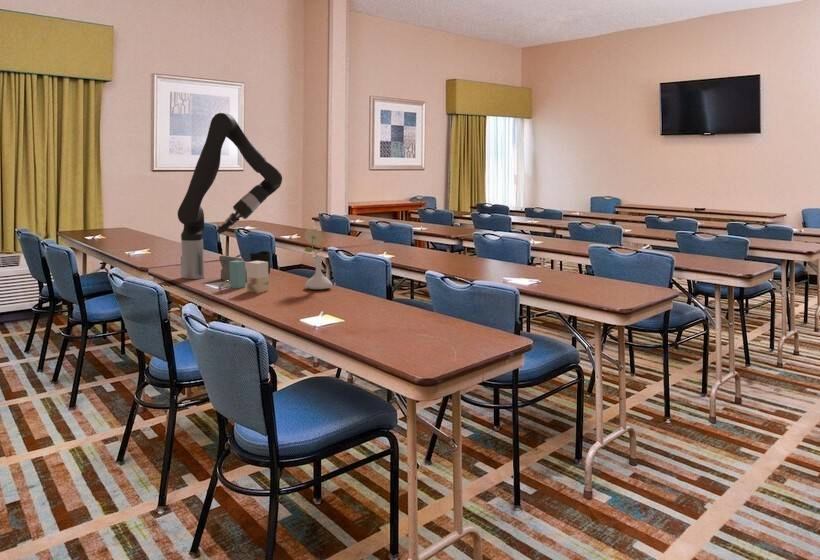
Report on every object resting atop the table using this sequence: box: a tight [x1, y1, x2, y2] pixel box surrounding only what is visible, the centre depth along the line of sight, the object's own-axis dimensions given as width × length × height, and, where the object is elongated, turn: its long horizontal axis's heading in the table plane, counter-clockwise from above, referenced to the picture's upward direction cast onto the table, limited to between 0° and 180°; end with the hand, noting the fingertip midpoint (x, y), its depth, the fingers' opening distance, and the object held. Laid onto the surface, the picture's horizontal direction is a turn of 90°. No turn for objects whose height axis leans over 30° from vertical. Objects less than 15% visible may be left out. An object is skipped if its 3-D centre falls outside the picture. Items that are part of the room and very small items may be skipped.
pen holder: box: [249, 250, 271, 275], centre depth 309 cm, size 9×9×10 cm
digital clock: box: [218, 255, 247, 282], centre depth 290 cm, size 16×9×11 cm, turn 39°
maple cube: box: [246, 276, 270, 294], centre depth 265 cm, size 6×6×6 cm
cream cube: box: [245, 261, 269, 279], centre depth 264 cm, size 6×6×6 cm
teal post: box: [229, 260, 247, 289], centre depth 273 cm, size 4×4×11 cm
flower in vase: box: [303, 228, 333, 290], centre depth 271 cm, size 13×11×25 cm
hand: (219, 231), depth 276 cm, fingers open, 8 cm apart
